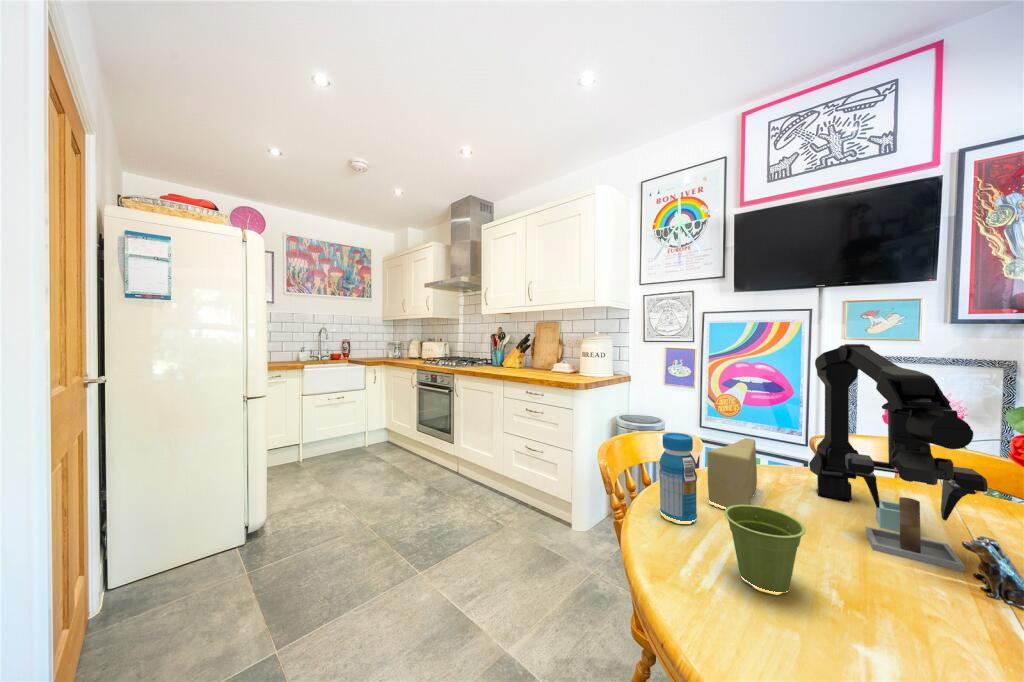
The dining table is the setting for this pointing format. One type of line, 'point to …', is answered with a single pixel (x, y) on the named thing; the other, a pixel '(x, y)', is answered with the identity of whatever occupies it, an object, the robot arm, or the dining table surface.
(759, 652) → the dining table surface
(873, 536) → the tray
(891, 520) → the open box
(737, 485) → the cheese
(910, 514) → the dowel
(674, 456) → the beverage bottle
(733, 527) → the plant pot
